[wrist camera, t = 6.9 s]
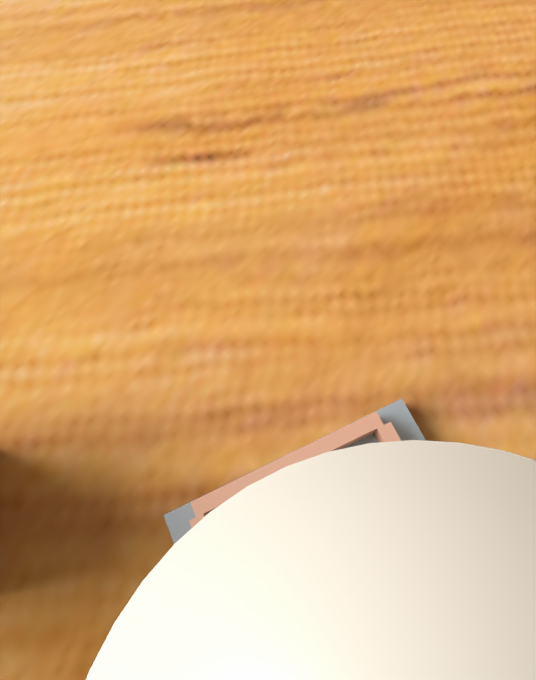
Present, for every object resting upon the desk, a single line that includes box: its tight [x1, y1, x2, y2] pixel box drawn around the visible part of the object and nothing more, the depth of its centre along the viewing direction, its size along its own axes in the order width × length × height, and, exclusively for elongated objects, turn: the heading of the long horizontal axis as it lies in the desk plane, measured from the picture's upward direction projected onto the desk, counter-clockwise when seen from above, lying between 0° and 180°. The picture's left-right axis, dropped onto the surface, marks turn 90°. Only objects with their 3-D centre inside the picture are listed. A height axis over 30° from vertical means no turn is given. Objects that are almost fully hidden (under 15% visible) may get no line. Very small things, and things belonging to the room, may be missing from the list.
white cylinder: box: [86, 440, 536, 680], centre depth 9 cm, size 5×5×13 cm
